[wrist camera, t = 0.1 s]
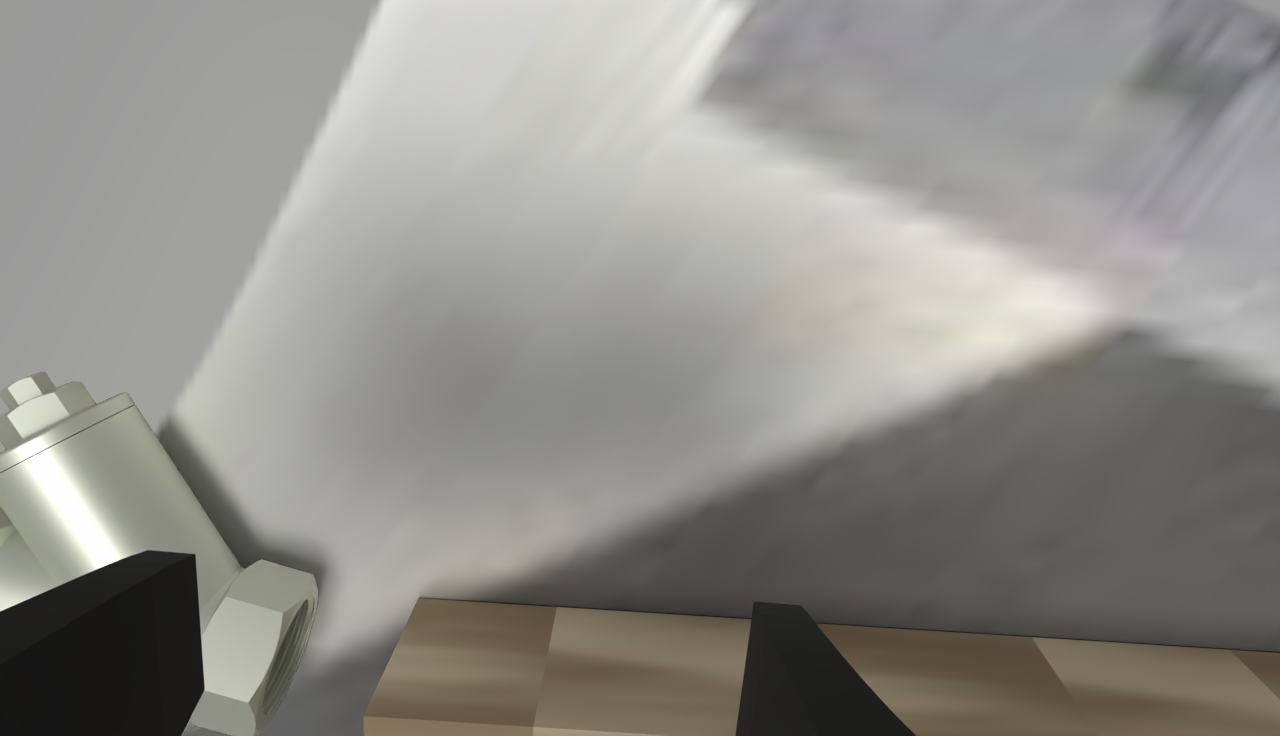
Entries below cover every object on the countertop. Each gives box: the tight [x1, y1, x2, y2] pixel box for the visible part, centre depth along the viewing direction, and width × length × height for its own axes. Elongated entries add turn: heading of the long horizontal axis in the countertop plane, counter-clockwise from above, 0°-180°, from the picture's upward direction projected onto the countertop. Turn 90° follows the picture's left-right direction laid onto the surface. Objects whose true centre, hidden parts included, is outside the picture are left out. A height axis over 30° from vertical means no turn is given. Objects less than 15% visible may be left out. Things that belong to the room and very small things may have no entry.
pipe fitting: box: [0, 372, 318, 736], centre depth 21 cm, size 8×4×7 cm
